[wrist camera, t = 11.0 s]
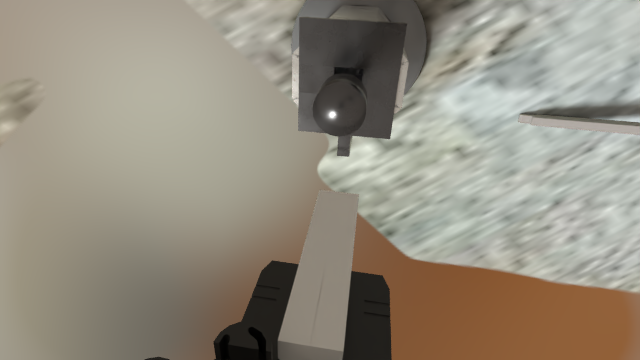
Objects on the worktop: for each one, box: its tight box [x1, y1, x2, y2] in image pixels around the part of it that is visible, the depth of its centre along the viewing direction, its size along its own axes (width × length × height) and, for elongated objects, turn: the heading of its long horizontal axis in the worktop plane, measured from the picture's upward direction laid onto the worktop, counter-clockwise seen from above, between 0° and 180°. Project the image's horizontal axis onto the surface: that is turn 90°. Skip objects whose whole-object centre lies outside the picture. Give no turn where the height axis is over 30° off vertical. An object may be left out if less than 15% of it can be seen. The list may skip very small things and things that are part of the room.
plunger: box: [312, 67, 367, 136], centre depth 32 cm, size 8×8×18 cm
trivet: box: [291, 0, 427, 94], centre depth 43 cm, size 16×16×1 cm
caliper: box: [518, 114, 640, 135], centre depth 41 cm, size 20×1×6 cm, turn 92°
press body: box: [292, 5, 409, 157], centre depth 37 cm, size 13×10×15 cm
